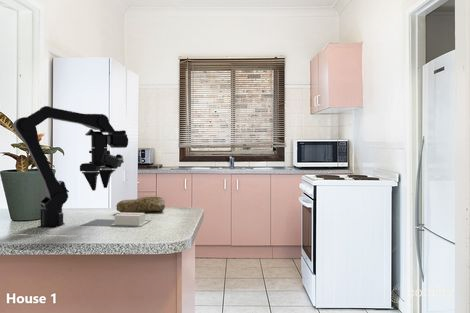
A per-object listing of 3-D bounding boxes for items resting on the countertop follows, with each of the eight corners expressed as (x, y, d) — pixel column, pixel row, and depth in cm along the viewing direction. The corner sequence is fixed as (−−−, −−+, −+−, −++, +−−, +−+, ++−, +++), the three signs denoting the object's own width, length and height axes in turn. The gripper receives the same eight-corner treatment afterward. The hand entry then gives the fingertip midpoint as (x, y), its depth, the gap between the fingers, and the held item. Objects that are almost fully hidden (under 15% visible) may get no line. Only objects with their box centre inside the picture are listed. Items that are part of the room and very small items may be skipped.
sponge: (161, 212, 173) (116, 204, 168) (165, 195, 172) (120, 187, 167) (163, 222, 161) (114, 215, 156) (167, 205, 160) (118, 196, 155)
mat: (79, 226, 134) (79, 225, 134) (96, 220, 146) (96, 218, 146) (140, 228, 132) (140, 226, 132) (152, 221, 144) (152, 220, 144)
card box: (139, 224, 135) (139, 215, 135) (114, 224, 136) (114, 215, 136) (145, 221, 141) (144, 212, 141) (121, 221, 142) (121, 212, 142)
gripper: (108, 147, 134) (109, 192, 135) (129, 147, 153) (130, 186, 153) (78, 147, 136) (79, 191, 136) (103, 147, 154) (103, 186, 154)
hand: (99, 189), depth 145 cm, fingers open, 9 cm apart
